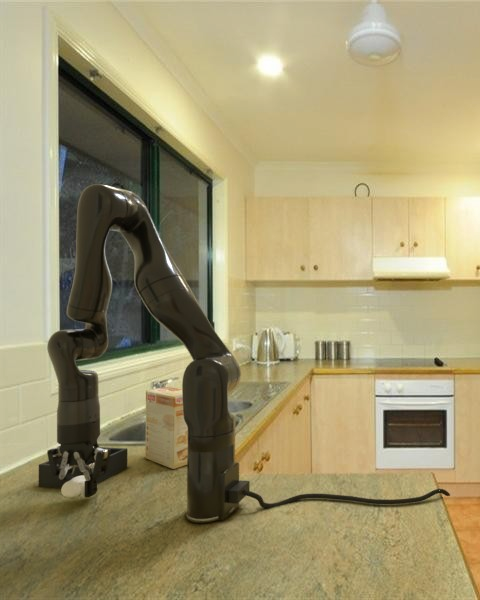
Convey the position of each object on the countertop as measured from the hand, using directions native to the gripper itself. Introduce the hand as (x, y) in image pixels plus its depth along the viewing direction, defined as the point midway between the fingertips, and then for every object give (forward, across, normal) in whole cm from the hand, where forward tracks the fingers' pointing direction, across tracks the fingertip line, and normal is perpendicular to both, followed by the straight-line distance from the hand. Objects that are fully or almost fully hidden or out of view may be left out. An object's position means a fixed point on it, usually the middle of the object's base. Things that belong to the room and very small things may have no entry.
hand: (79, 494), depth 89 cm
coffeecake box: (+2, +4, +25) cm, 25 cm away
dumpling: (+1, 0, 0) cm, 1 cm away
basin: (+1, -10, +12) cm, 16 cm away
